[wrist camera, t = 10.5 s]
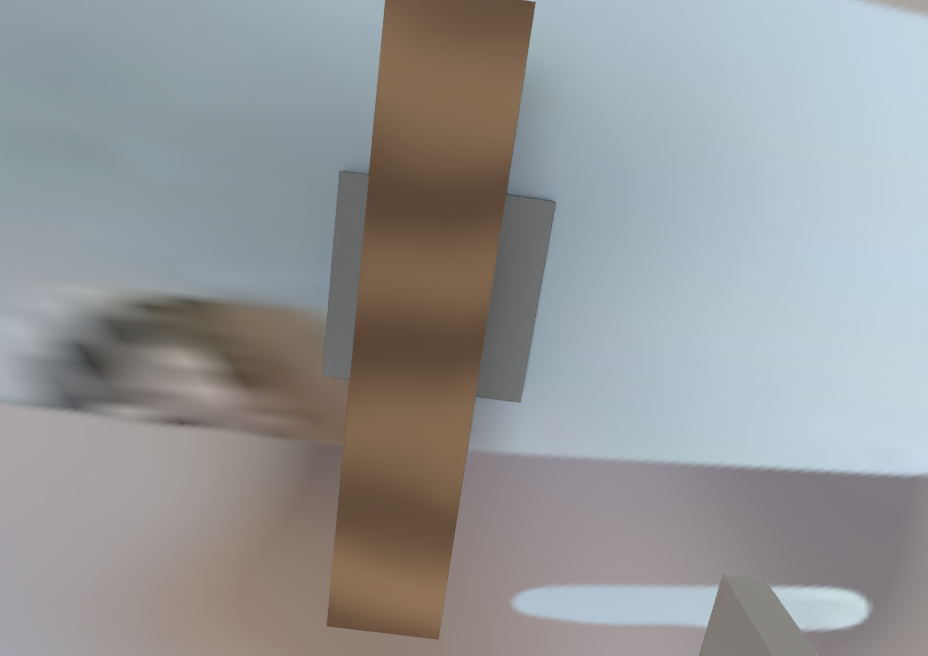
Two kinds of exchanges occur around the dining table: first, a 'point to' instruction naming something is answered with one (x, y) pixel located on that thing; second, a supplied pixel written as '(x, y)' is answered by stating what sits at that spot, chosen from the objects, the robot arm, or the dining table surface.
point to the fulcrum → (509, 296)
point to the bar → (423, 301)
